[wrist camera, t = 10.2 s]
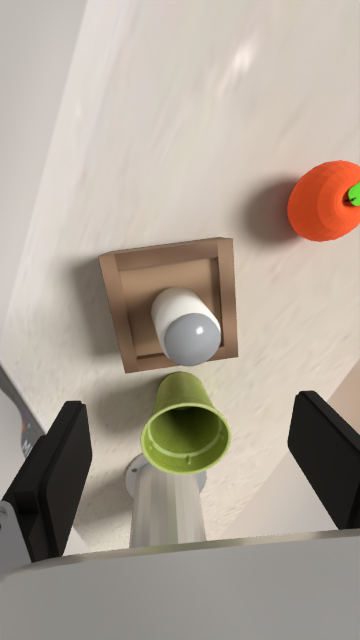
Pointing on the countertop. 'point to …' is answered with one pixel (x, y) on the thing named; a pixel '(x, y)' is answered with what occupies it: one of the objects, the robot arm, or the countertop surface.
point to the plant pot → (184, 428)
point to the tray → (155, 277)
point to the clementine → (326, 201)
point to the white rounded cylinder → (185, 327)
